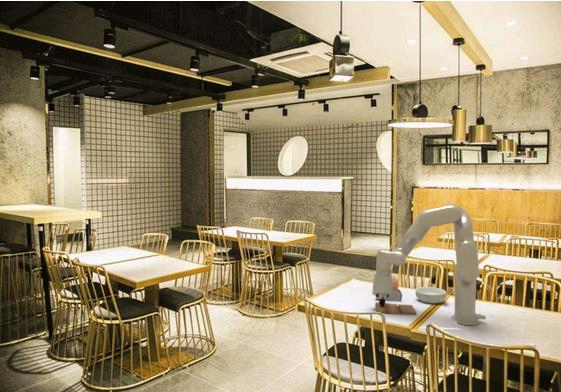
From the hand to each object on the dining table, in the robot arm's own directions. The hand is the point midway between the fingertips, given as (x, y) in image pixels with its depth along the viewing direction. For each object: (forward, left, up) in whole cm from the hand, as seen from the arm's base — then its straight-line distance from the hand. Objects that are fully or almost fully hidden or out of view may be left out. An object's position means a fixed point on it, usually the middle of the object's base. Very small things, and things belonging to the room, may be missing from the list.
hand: (382, 305), depth 217 cm
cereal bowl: (-30, -20, -3) cm, 36 cm away
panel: (-3, 0, -2) cm, 3 cm away
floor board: (-6, 0, -3) cm, 7 cm away
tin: (-6, -17, -3) cm, 19 cm away
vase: (-7, -34, -3) cm, 35 cm away
